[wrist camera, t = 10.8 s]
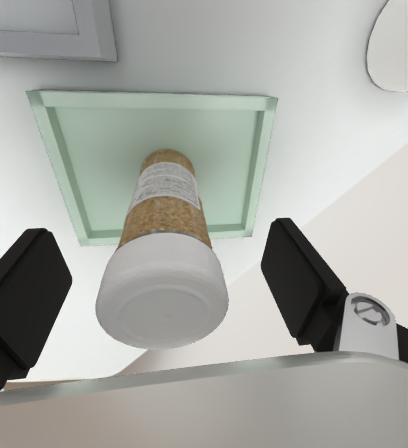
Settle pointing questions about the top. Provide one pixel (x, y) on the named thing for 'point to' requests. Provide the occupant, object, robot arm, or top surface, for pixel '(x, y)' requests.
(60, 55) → the holder
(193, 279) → the sprinkles bottle
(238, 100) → the tray
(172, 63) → the top surface
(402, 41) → the white bottle
